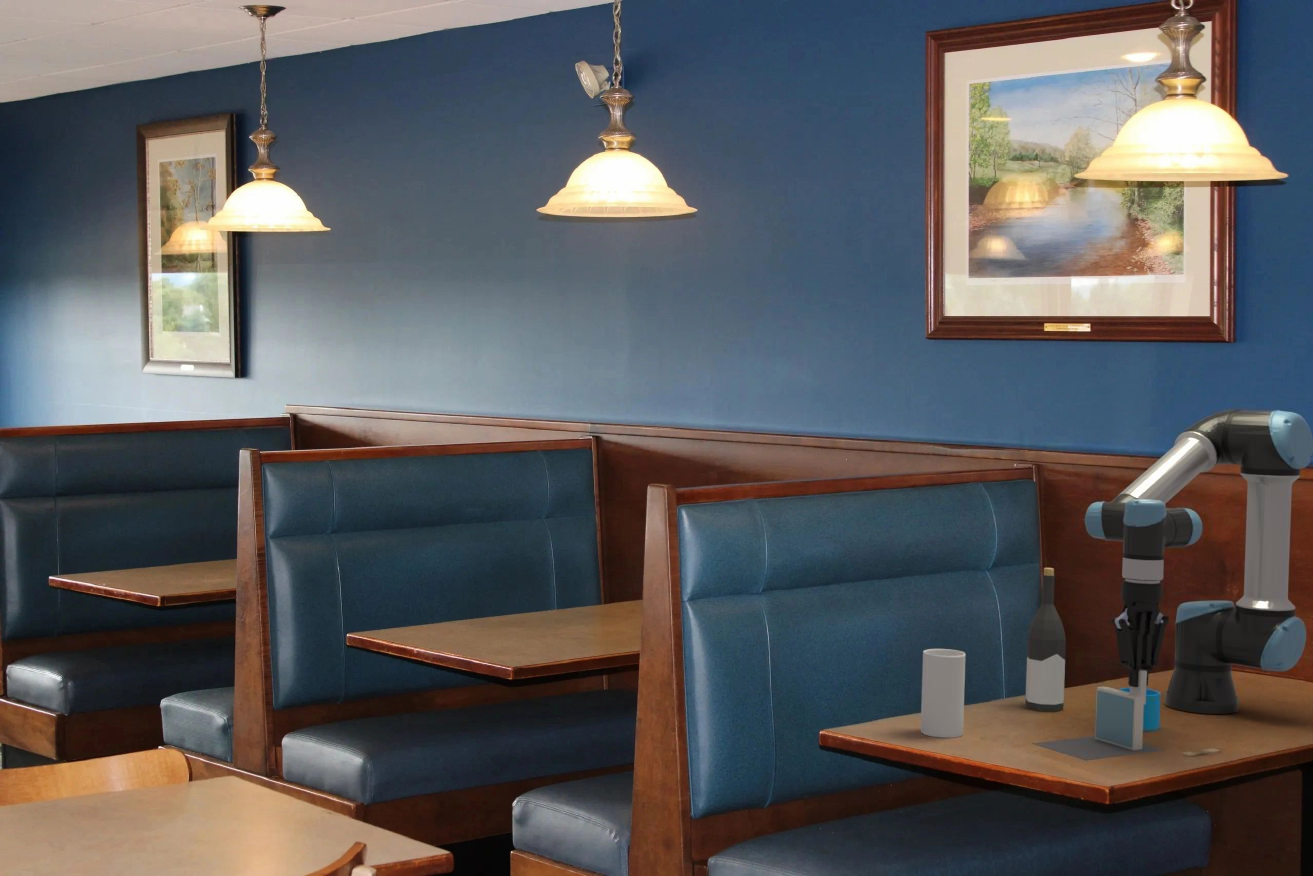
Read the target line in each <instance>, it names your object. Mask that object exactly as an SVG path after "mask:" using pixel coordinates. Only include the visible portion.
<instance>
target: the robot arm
mask: <svg viewBox="0 0 1313 876" xmlns="http://www.w3.org/2000/svg"><path fill="white" fill-rule="evenodd" d="M1312 457H1313V434H1312V431H1311V428H1310V426H1309V424H1308V423H1307V421H1306V419H1305V418H1304V417H1303V416H1302V415H1301V414H1298V413H1295V412H1293V411H1283V410H1279V409H1277V410H1256V409H1252V410H1251V409H1227V410H1222V411H1218V412H1215V413H1212V414H1210V415H1208V416H1206V417H1204V418H1202V419H1200V420H1199V421H1196V422H1195V423H1193V424H1192V425H1190V426H1189V427H1188V428H1186V429H1185V430H1183V432H1181V433H1180V434H1179V435H1178V436H1177V437H1176V439H1175V441H1174V445H1173V447H1172V448H1170V449H1169V450H1168V451H1167V452H1165V454H1164V455H1162V456H1161V457H1160V458H1159V459H1158V460H1156V462H1155V463H1153V464H1152V465H1151V466H1149V467H1148V468H1147V470H1146V471H1144V472H1143V473H1142V474H1140V475H1139V476H1138V477H1137V478H1136V479H1135V480H1134V481H1133V482H1131V484H1129V485H1128V486H1126V488H1125V489H1123V490H1122V491H1121V492H1120V493H1119V494H1118V495H1117V496H1116V497H1115V498H1114V499H1112V500H1111V501H1109V502H1108V501H1104V500H1103V501H1096V502H1093V503H1090V505H1089V506H1088V508H1087V510H1086V512H1085V516H1084V524H1085V529H1086V532H1087V533H1088V535H1089V536H1090V537H1092V538H1094V539H1100V540H1105V541H1106V542H1108V541H1109V542H1111V541H1114V542H1122V543H1123V547H1122V549H1123V551H1122V552H1123V553H1122V567H1121V568H1122V570H1121V571H1122V572H1121V573H1122V574H1121V576H1122V578H1124V579H1123V580H1122V582H1121V589H1120V592H1121V593H1120V598H1121V600H1122V601H1123V602H1124V603H1123V607H1122V609H1121V614H1120V615H1119V616H1118V617H1112V620H1111V623H1112V624H1113V627H1114V629H1115V634H1116V641H1117V648H1118V656H1119V663H1120V665H1121V667H1124V668H1125V669H1127V670H1128V682H1127V683H1128V686H1129V688H1130V693H1133V694H1137V695H1141V696H1144V705H1146V689H1147V687H1148V686H1149V674H1150V673H1149V671H1153V670H1154V668H1155V666H1156V667H1157V665H1158V664H1159V663H1158V662H1159V659H1160V654H1161V650H1162V644H1163V640H1164V639H1163V638H1164V635H1165V629H1166V627H1167V625H1168V623H1169V621H1170V617H1169V616H1168V615H1164V614H1162V612H1161V608H1160V605H1159V603H1161V602H1162V601H1163V593H1164V591H1163V589H1164V584H1163V583H1162V582H1161V581H1163V580H1164V567H1165V566H1164V561H1165V560H1164V558H1165V555H1164V554H1165V549H1166V548H1184V547H1187V546H1190V545H1193V544H1195V543H1197V542H1198V541H1199V539H1200V538H1201V536H1202V533H1203V521H1202V520H1201V517H1200V516H1199V514H1198V513H1197V512H1196V511H1195V510H1192V509H1190V508H1185V507H1178V506H1177V507H1175V508H1174V507H1166V503H1168V502H1169V501H1170V500H1171V499H1172V498H1173V497H1175V495H1177V494H1178V493H1179V492H1180V491H1181V490H1182V489H1183V488H1184V487H1186V486H1187V485H1188V484H1189V483H1190V482H1191V481H1192V480H1193V479H1194V478H1196V477H1197V476H1198V475H1199V474H1200V473H1206V472H1209V471H1211V470H1212V469H1214V467H1215V466H1218V465H1229V464H1230V465H1240V476H1241V477H1243V478H1244V480H1245V481H1246V482H1247V492H1246V493H1247V494H1246V495H1247V496H1246V498H1247V499H1246V522H1245V523H1246V526H1245V551H1244V552H1245V553H1244V556H1245V557H1244V580H1243V581H1244V584H1243V595H1242V597H1240V599H1238V600H1237V601H1236V602H1235V603H1234V601H1231V600H1198V601H1188V602H1183V603H1181V604H1179V606H1178V607H1177V610H1176V619H1175V623H1174V625H1175V641H1174V642H1175V644H1174V646H1175V648H1174V669H1173V673H1172V675H1171V678H1170V680H1169V684H1168V687H1167V690H1166V691H1165V693H1164V705H1165V706H1166V707H1168V708H1171V709H1175V710H1178V711H1183V712H1189V713H1196V714H1207V715H1209V714H1210V715H1226V714H1227V715H1228V714H1233V713H1237V712H1238V711H1239V709H1240V708H1239V704H1240V703H1239V702H1240V701H1239V697H1238V695H1237V692H1236V688H1235V684H1234V679H1233V677H1232V676H1233V675H1232V665H1237V666H1243V667H1248V668H1254V669H1260V670H1263V671H1264V672H1265V671H1267V672H1268V671H1273V672H1286V671H1288V670H1290V669H1292V668H1294V666H1295V665H1296V664H1297V663H1298V661H1299V659H1301V657H1302V655H1303V652H1304V649H1305V645H1306V641H1307V627H1306V624H1305V622H1304V621H1303V620H1302V619H1301V618H1300V617H1298V616H1296V606H1295V604H1293V603H1292V602H1291V601H1290V600H1289V597H1288V596H1289V573H1290V569H1289V568H1290V549H1291V548H1290V547H1291V545H1290V543H1291V518H1292V517H1291V515H1292V493H1293V492H1292V491H1293V488H1292V487H1293V483H1294V482H1296V481H1297V480H1298V479H1299V478H1300V477H1301V469H1304V468H1306V467H1308V466H1309V464H1310V463H1311V461H1312V459H1311V458H1312Z"/></svg>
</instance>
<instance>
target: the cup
mask: <svg viewBox="0 0 1313 876" xmlns="http://www.w3.org/2000/svg"><path fill="white" fill-rule="evenodd" d="M921 672H922V673H921V674H922V679H921V703H920V704H921V707H920V708H921V709H920V714H921V715H920V733H921V734H922V733H923V734H922V735H925V736H929V737H933V738H942V739H944V738H947V739H949V738H960V737H962V736H963V735H964V714H965V713H964V710H965V682H966V681H965V680H966V678H965V677H966V652H965V651H962V650H957V649H948V648H947V649H946V648H929V649H925V650H923V651H922V671H921Z"/></svg>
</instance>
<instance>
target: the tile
mask: <svg viewBox="0 0 1313 876" xmlns="http://www.w3.org/2000/svg"><path fill="white" fill-rule="evenodd" d="M1095 700H1096V701H1095V726H1094V727H1095V730H1094V732H1095V733H1094V736H1095V739H1097V740H1101V741H1104V742H1108V743H1111V744H1114V745H1118V746H1121V747H1124V748H1128V749H1131V750H1140V749H1142V743H1143V740H1144V738H1143V735H1144V734H1143V732H1144V731H1143V711H1144V696H1141V695H1137V694H1133V693H1129V692H1125V691H1121V690H1119V689H1117V688H1113V687H1109V686H1097V687H1096V699H1095Z"/></svg>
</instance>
